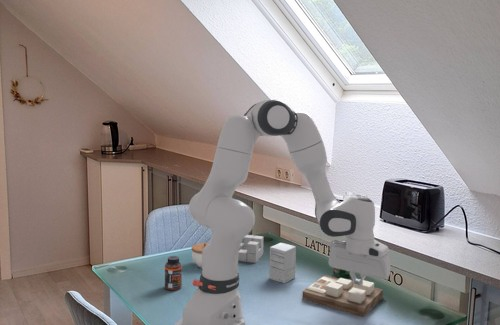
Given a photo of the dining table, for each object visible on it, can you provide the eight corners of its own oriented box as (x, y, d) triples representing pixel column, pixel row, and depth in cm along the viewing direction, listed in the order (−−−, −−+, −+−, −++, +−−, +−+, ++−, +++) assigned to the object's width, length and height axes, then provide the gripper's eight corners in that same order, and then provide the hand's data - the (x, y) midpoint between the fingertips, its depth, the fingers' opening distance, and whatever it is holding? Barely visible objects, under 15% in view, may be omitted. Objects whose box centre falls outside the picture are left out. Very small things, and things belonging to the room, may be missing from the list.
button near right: (360, 304, 159) (360, 295, 158) (347, 300, 161) (348, 291, 161) (365, 299, 162) (365, 290, 162) (352, 296, 165) (353, 287, 164)
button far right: (369, 296, 165) (369, 287, 165) (356, 292, 168) (357, 283, 167) (373, 291, 169) (374, 282, 168) (361, 288, 171) (362, 279, 171)
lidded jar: (206, 258, 205) (206, 237, 204) (223, 265, 198) (223, 243, 196) (186, 265, 198) (186, 242, 196) (203, 272, 190) (203, 249, 189)
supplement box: (279, 273, 191) (280, 242, 189) (295, 278, 186) (296, 246, 184) (268, 278, 185) (269, 246, 183) (284, 283, 181) (285, 251, 179)
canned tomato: (349, 281, 184) (350, 253, 182) (329, 277, 188) (330, 249, 186) (356, 275, 190) (358, 248, 189) (337, 270, 194) (338, 244, 193)
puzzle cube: (237, 250, 216) (237, 233, 215) (263, 253, 213) (263, 236, 212) (228, 259, 205) (228, 241, 203) (255, 263, 201) (256, 244, 200)
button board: (363, 317, 156) (364, 307, 155) (302, 299, 168) (302, 290, 167) (382, 297, 170) (383, 288, 170) (324, 282, 182) (325, 274, 182)
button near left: (337, 298, 163) (338, 289, 163) (325, 294, 166) (325, 285, 165) (342, 293, 167) (343, 284, 166) (331, 290, 169) (331, 281, 169)
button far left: (346, 293, 170) (347, 284, 169) (335, 290, 172) (335, 281, 172) (351, 289, 174) (352, 280, 173) (340, 286, 176) (340, 277, 175)
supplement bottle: (173, 292, 171) (172, 261, 169) (161, 288, 175) (161, 257, 173) (185, 287, 176) (185, 257, 174) (173, 283, 179) (173, 253, 178)
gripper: (326, 241, 162) (324, 280, 164) (386, 253, 151) (384, 295, 153) (334, 236, 167) (332, 274, 170) (393, 248, 156) (390, 289, 158)
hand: (357, 284), depth 161 cm, fingers closed
